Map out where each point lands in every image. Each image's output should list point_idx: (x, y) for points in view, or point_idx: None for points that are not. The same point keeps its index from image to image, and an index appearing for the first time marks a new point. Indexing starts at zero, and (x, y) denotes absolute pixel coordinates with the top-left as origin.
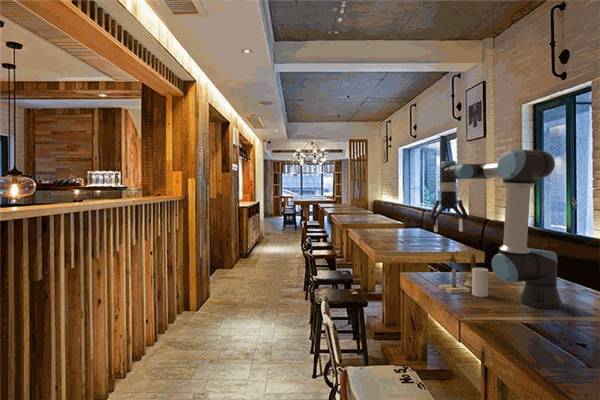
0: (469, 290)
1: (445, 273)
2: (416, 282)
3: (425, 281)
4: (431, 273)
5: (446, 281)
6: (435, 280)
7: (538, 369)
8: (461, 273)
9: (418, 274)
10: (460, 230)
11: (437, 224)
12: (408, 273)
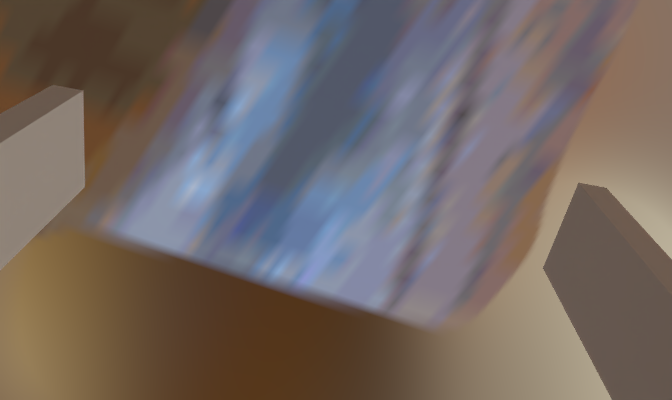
0: None
1: (215, 246)
2: (581, 80)
3: (499, 86)
4: (306, 272)
5: (353, 37)
6: (410, 90)
7: None
8: (107, 214)
9: (407, 274)
10: (75, 141)
11: (650, 267)
12: (451, 314)
